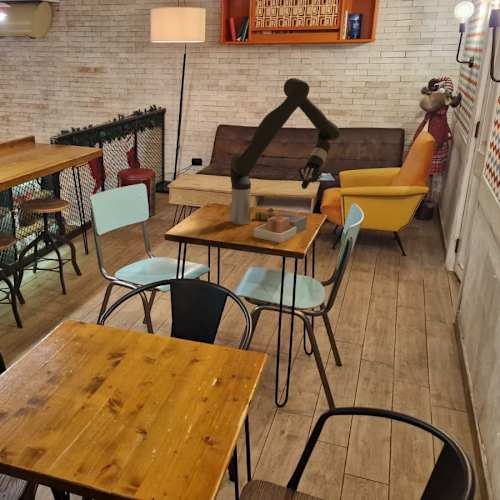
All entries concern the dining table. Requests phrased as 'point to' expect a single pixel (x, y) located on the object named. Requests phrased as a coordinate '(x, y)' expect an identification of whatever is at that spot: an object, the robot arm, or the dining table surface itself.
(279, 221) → the terracotta block
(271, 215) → the gavel
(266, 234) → the box
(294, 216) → the grey platform
